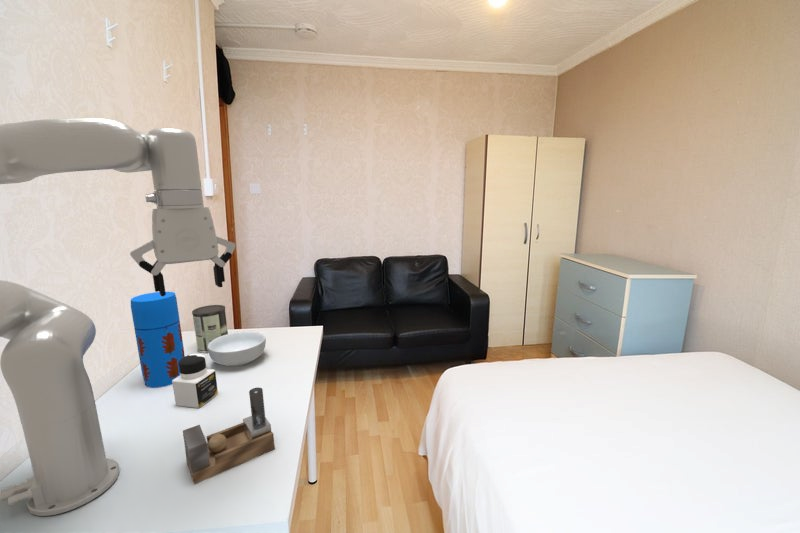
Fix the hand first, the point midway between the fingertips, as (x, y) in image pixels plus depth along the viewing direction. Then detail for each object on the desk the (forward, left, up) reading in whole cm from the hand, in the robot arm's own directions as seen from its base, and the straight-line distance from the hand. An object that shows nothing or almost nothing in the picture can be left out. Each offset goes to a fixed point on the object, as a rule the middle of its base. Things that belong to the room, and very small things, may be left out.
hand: (192, 290), depth 71 cm
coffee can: (+12, +58, -34) cm, 69 cm away
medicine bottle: (+1, +23, -34) cm, 41 cm away
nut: (0, -5, -32) cm, 33 cm away
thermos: (-4, +42, -34) cm, 54 cm away
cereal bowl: (+16, +40, -35) cm, 55 cm away
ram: (+8, -5, -32) cm, 33 cm away
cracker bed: (+2, -5, -34) cm, 35 cm away
